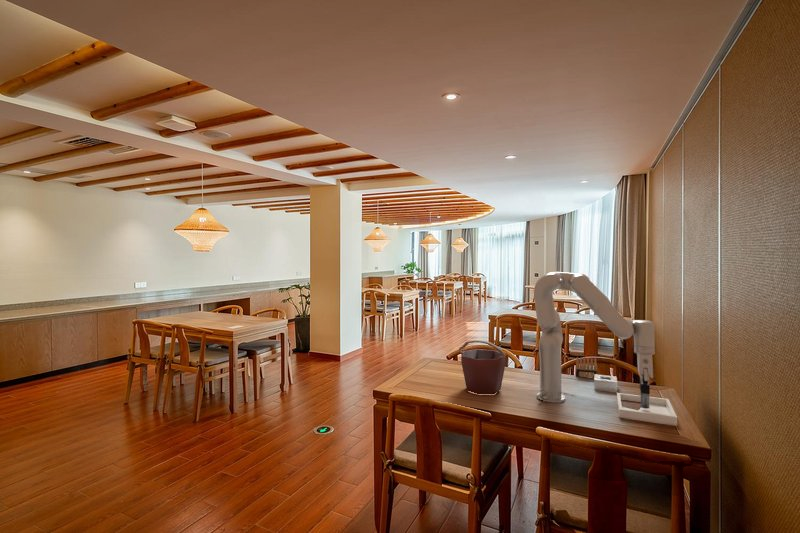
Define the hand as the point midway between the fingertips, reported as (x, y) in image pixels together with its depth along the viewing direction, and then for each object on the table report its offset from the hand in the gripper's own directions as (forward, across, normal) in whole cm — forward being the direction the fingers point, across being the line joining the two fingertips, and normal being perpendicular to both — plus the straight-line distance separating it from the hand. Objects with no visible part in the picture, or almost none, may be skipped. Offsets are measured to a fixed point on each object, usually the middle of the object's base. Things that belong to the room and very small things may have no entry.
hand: (644, 391), depth 169 cm
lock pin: (+7, 0, 0) cm, 7 cm away
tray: (+9, 0, 0) cm, 9 cm away
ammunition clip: (+9, +40, +24) cm, 48 cm away
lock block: (+9, +24, +15) cm, 30 cm away
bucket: (+9, 0, +70) cm, 71 cm away
